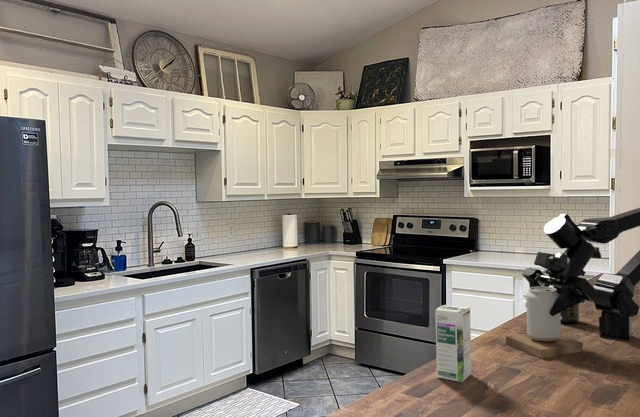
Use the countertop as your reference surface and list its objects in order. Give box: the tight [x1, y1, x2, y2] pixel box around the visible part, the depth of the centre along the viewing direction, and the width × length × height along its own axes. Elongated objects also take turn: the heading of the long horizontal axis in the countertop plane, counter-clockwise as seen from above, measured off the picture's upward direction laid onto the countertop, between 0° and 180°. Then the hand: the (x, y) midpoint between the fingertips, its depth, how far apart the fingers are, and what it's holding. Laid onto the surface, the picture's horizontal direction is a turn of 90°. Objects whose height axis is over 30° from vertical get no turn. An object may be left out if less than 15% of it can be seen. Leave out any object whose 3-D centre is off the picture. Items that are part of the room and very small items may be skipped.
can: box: [525, 286, 562, 341], centre depth 127 cm, size 8×8×12 cm
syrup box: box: [434, 304, 472, 383], centre depth 110 cm, size 6×6×14 cm
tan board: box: [505, 332, 584, 360], centre depth 127 cm, size 12×12×2 cm
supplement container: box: [552, 286, 581, 326], centre depth 149 cm, size 7×7×10 cm
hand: (538, 311), depth 126 cm, fingers closed on can, 7 cm apart
